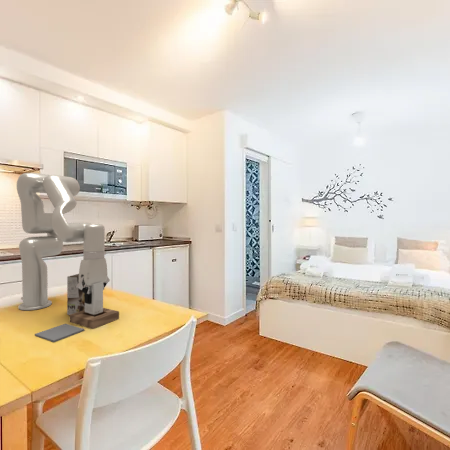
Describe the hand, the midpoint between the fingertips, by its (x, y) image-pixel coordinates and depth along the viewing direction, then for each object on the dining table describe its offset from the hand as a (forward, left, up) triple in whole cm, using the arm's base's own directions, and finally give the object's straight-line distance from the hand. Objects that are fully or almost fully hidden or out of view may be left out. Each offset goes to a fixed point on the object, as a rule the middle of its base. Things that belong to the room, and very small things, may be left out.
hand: (93, 301), depth 113 cm
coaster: (0, -14, -8) cm, 16 cm away
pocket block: (0, 0, -8) cm, 8 cm away
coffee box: (-14, +4, -8) cm, 16 cm away
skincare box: (0, 0, -5) cm, 5 cm away
